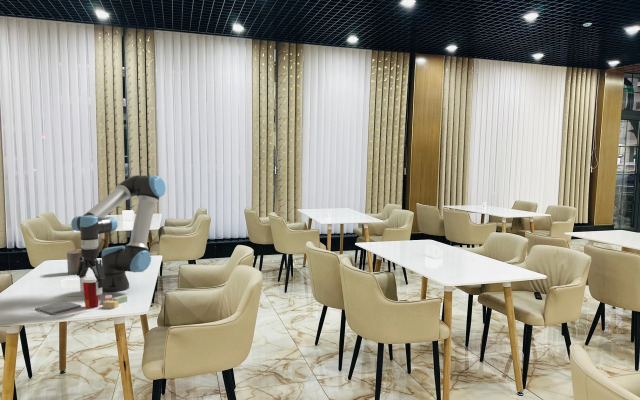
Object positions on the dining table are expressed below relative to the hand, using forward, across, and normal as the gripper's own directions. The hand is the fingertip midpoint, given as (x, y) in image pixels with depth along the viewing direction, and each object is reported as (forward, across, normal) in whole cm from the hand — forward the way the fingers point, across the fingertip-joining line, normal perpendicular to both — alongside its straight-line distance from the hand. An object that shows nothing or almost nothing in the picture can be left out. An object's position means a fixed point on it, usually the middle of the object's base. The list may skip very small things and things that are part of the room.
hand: (91, 292), depth 226 cm
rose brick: (+7, 0, +9) cm, 11 cm away
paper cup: (+7, 0, 0) cm, 7 cm away
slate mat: (+7, -11, -10) cm, 16 cm away
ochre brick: (+7, +8, +4) cm, 12 cm away
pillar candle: (+7, -73, +36) cm, 82 cm away
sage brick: (+7, +6, +11) cm, 15 cm away
